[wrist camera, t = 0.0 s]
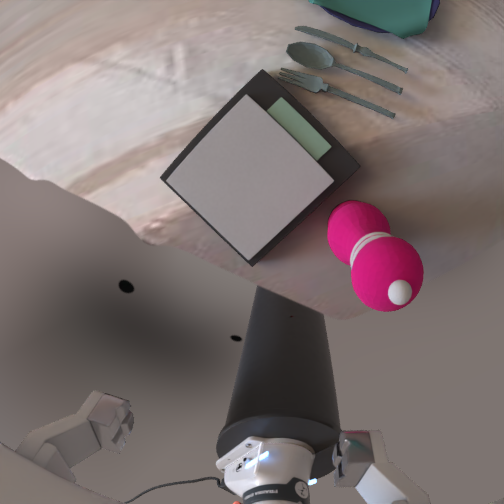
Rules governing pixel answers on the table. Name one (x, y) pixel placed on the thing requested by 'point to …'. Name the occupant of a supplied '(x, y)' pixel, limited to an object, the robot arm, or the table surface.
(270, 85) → the kitchen scale
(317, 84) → the cutlery set
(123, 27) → the table surface
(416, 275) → the pepper mill
